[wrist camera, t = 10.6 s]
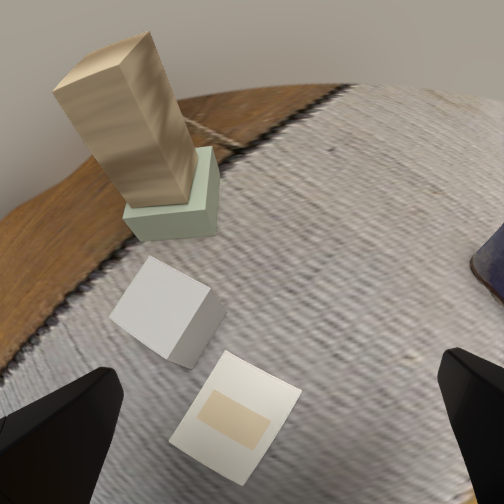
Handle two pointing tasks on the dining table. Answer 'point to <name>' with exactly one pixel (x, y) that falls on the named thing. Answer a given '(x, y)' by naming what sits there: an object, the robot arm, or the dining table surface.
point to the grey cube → (169, 312)
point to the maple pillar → (131, 121)
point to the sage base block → (182, 207)
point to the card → (235, 418)
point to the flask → (491, 265)
